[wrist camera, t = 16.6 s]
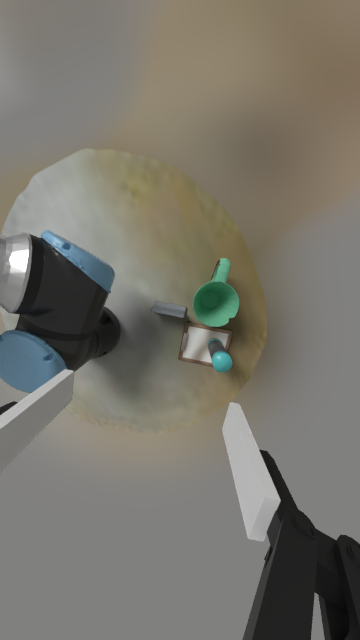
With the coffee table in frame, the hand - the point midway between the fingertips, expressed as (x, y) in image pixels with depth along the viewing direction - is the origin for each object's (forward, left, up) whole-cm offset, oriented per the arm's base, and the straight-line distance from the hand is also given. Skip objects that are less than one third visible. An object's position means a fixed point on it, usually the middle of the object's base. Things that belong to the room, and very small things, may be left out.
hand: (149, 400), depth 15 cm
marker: (+12, -5, -34) cm, 36 cm away
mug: (+8, +9, -35) cm, 37 cm away
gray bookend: (-2, +2, -35) cm, 35 cm away
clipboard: (+10, -6, -35) cm, 36 cm away
